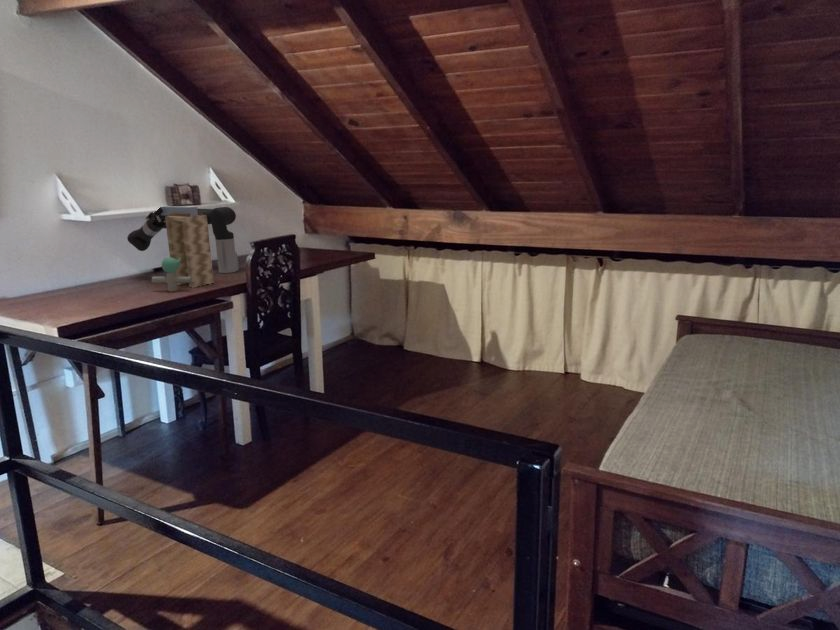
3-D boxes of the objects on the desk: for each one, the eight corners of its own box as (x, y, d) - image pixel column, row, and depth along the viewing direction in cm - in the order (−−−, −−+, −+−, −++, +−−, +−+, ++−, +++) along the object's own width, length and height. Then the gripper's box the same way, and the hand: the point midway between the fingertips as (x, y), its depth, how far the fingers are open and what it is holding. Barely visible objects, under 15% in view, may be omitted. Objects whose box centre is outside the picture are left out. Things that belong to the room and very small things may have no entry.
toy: (196, 289, 282) (192, 256, 278) (189, 292, 275) (185, 258, 272) (157, 289, 284) (153, 256, 280) (149, 292, 277) (145, 259, 274)
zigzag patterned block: (195, 281, 302) (187, 211, 294) (214, 283, 294) (206, 212, 286) (173, 285, 292) (164, 213, 284) (192, 288, 284) (183, 214, 276)
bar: (168, 214, 295) (167, 206, 294) (197, 215, 284) (196, 206, 283) (161, 215, 292) (160, 206, 291) (190, 216, 280) (189, 207, 279)
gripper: (170, 230, 306) (186, 214, 296) (143, 233, 294) (159, 217, 285) (163, 217, 306) (179, 200, 297) (137, 219, 295) (152, 202, 285)
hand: (169, 208), depth 291 cm, fingers open, 8 cm apart
